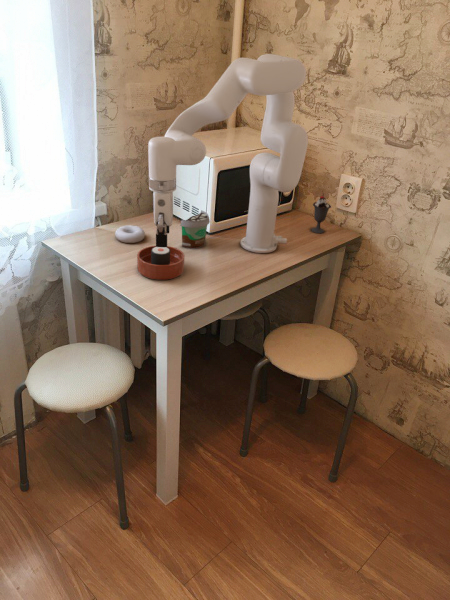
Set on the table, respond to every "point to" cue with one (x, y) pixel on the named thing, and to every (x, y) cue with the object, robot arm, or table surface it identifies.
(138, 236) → the donut
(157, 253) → the sushi roll
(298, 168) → the robot arm
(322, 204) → the sundae
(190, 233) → the food container
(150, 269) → the bowl
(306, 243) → the table surface
